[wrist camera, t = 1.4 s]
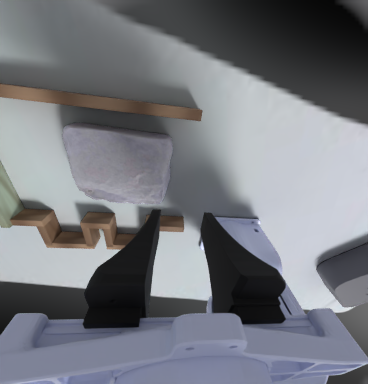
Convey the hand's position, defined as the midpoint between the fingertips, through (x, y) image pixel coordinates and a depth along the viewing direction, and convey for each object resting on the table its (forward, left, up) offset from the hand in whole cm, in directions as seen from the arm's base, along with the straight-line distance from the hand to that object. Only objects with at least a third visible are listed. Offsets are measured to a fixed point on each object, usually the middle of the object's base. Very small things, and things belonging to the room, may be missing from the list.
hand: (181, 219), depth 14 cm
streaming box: (-43, +20, -10) cm, 49 cm away
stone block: (+7, -1, -10) cm, 12 cm away
